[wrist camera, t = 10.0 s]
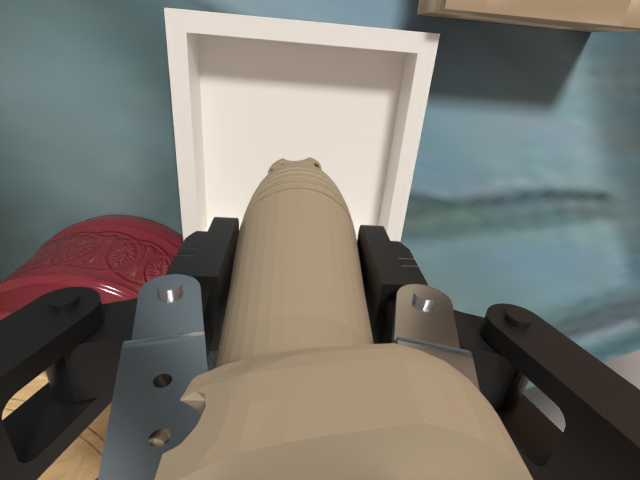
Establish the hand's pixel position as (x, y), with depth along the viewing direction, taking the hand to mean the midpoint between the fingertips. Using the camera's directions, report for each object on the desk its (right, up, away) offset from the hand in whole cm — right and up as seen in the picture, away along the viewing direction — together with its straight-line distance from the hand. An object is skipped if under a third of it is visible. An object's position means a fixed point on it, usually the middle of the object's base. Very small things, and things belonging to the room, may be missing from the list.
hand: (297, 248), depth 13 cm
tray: (-1, +7, +13) cm, 15 cm away
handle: (0, +3, +6) cm, 6 cm away
